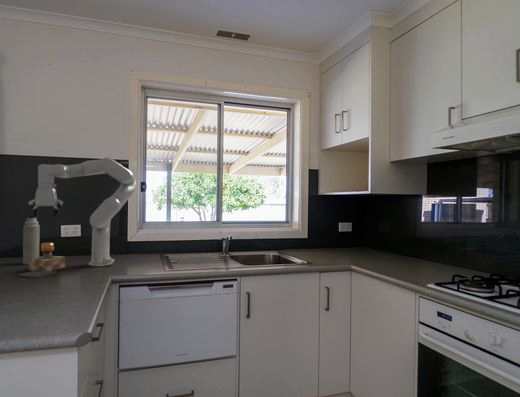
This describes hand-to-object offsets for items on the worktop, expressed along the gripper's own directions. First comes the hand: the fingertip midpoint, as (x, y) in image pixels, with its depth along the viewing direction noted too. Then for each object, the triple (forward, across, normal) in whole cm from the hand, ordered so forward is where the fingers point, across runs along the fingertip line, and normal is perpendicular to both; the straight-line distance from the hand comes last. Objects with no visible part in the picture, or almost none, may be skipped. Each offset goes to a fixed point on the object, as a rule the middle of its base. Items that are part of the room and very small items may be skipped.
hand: (46, 216), depth 194 cm
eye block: (+29, -2, +7) cm, 30 cm away
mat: (+29, -2, +22) cm, 36 cm away
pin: (+29, -2, +7) cm, 30 cm away
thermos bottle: (+29, +11, -12) cm, 33 cm away
